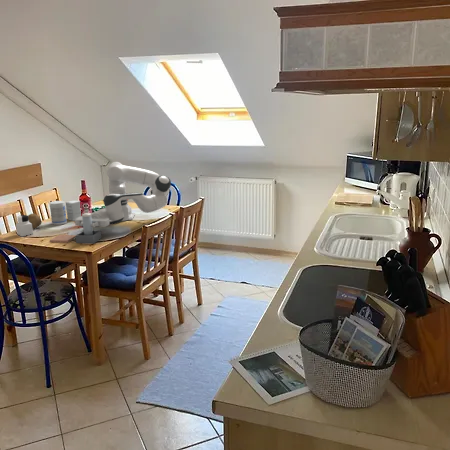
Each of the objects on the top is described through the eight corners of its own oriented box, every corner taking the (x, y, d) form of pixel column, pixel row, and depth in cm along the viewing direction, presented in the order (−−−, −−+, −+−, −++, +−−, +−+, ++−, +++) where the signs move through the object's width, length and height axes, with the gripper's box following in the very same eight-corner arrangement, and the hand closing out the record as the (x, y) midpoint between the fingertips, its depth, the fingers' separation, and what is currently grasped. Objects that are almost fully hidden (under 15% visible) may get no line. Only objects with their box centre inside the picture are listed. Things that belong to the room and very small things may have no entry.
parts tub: (84, 237, 263) (83, 230, 262) (101, 238, 262) (100, 231, 261) (76, 242, 253) (75, 235, 252) (93, 243, 252) (93, 236, 251)
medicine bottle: (28, 232, 276) (26, 213, 272) (33, 234, 271) (30, 215, 267) (17, 234, 271) (14, 215, 268) (21, 236, 266) (18, 217, 263)
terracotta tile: (59, 236, 266) (59, 234, 266) (76, 237, 264) (76, 235, 264) (50, 241, 255) (49, 240, 255) (67, 242, 254) (67, 240, 254)
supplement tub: (68, 224, 294) (66, 202, 290) (53, 226, 289) (51, 204, 285) (64, 220, 302) (62, 200, 298) (50, 223, 297) (47, 201, 293)
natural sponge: (23, 229, 281) (21, 214, 278) (33, 226, 289) (31, 211, 286) (34, 231, 278) (32, 215, 275) (44, 227, 286) (42, 212, 283)
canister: (86, 239, 260) (84, 212, 256) (95, 239, 260) (92, 213, 255) (82, 241, 255) (80, 215, 251) (91, 242, 255) (88, 215, 250)
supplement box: (76, 217, 311) (74, 200, 308) (82, 218, 307) (80, 201, 303) (67, 219, 305) (65, 201, 302) (73, 221, 301) (71, 203, 298)
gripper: (113, 224, 267) (104, 231, 254) (82, 223, 270) (71, 229, 257) (112, 214, 265) (103, 220, 252) (81, 213, 268) (70, 219, 255)
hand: (86, 225), depth 254 cm, fingers closed on canister, 5 cm apart
